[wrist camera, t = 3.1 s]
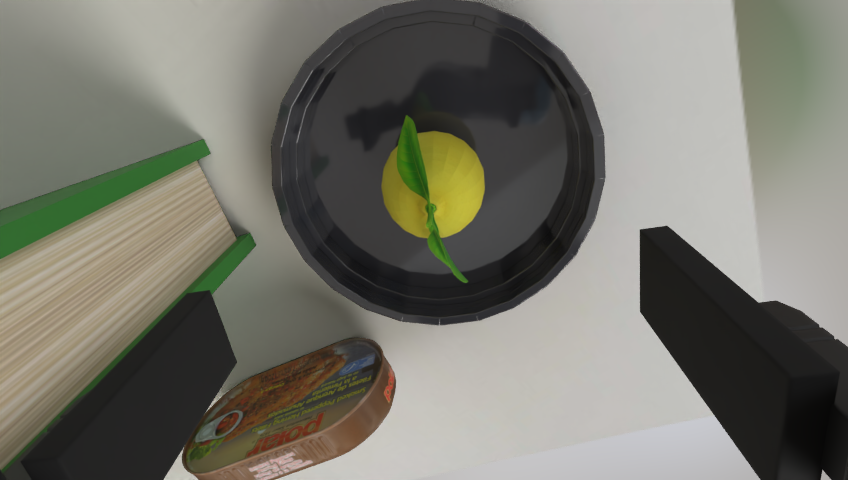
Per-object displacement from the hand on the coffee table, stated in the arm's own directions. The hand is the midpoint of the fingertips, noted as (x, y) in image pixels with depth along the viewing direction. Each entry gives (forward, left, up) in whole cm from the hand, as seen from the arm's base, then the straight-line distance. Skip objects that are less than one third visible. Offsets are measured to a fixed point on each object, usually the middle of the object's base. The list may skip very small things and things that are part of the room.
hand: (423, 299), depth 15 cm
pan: (0, 0, -17) cm, 17 cm away
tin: (+12, +14, -17) cm, 25 cm away
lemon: (0, 0, -16) cm, 16 cm away
